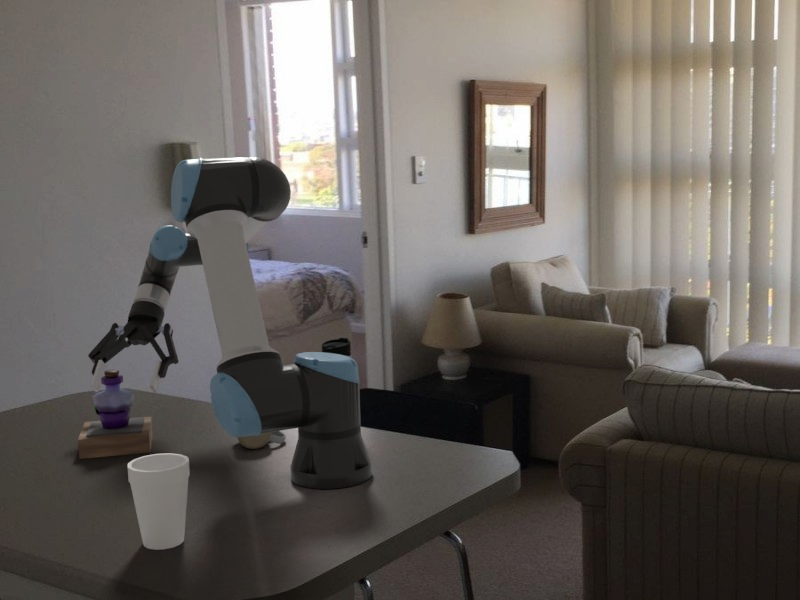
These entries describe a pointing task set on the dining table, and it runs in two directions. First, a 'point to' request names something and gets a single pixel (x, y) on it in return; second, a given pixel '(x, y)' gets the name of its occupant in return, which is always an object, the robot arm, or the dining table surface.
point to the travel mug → (337, 347)
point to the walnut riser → (115, 439)
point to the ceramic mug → (262, 439)
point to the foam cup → (160, 498)
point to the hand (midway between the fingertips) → (123, 389)
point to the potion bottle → (113, 402)
